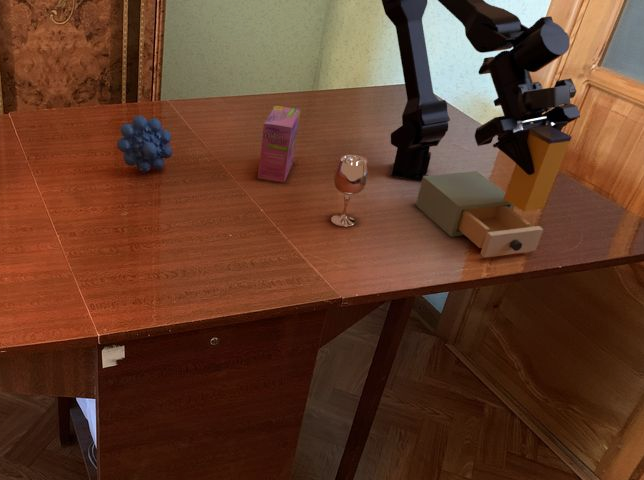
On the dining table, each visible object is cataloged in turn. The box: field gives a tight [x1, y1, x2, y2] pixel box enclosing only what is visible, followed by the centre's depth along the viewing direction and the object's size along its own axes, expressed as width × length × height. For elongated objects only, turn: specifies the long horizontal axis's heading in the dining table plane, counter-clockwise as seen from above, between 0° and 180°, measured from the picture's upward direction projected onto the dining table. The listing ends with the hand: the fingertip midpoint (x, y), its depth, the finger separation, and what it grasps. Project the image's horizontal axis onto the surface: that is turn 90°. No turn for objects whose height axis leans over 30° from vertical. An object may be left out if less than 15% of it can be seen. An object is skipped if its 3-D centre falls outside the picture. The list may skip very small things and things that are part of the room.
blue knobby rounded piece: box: [116, 114, 173, 173], centre depth 151 cm, size 12×7×12 cm, turn 110°
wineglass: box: [330, 154, 369, 227], centre depth 137 cm, size 6×6×12 cm
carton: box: [504, 126, 573, 212], centre depth 129 cm, size 5×5×13 cm
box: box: [257, 105, 301, 184], centre depth 154 cm, size 10×6×12 cm, turn 163°
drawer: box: [457, 205, 544, 258], centre depth 134 cm, size 13×10×4 cm
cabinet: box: [415, 170, 515, 238], centre depth 141 cm, size 13×12×6 cm
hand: (542, 171), depth 128 cm, fingers closed on carton, 5 cm apart
